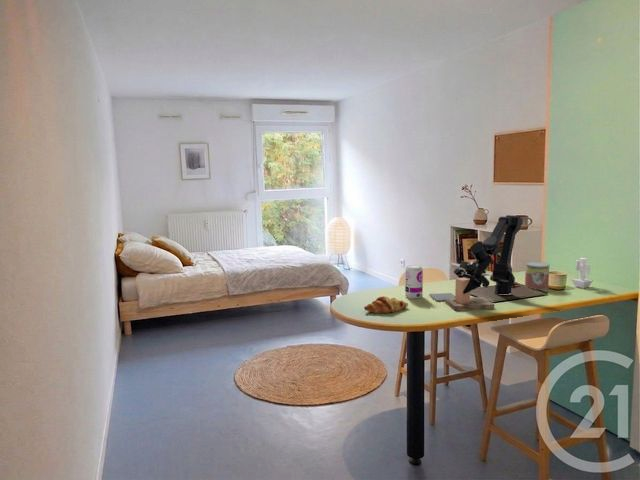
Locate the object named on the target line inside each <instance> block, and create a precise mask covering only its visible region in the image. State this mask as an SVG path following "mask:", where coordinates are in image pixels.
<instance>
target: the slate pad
mask: <svg viewBox="0 0 640 480" xmlns="http://www.w3.org/2000/svg"><path fill="white" fill-rule="evenodd" d="M428 295H429V297H430V298H431V299H432V300H434V301H435V302H445V299H451V298H455V294H454V293H452V292H444V293H429V294H428Z"/></svg>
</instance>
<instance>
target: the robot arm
mask: <svg viewBox="0 0 640 480" xmlns="http://www.w3.org/2000/svg"><path fill="white" fill-rule="evenodd" d="M523 222H524V220H523V218H522V216H520V215H510V214H509V215H506V216H500V217H498V221H497V223H496V225H495V227H494V228H493V230H492V232H491V234H490V236H489V237H487V238H485V239H484V240H483V241H481V240H480V241H479V240H478V241H476V242H475V243H473V244H472V245H471V246H470V248H469V250H470V251H469V252H470V253H471V254H472V255H473V257H474V259H475V261H470V262H469V261H465V260H460V264H459V267H458V268H455V269H454V271H453V273H454V274H455V275H456V277H457V278H467V279H470V281H469V283H468V285H467V286H466V288H465V289H464V291H463V293H464V294H465V293H467V292H470V293H471V291H473V290H476V289H478V288H479V289H480V288H482V287H484V288H488V287H489V286H490V280H489V279H488V278H487V277H486V276H485V275H483V274H486V273H487V271H486V270H487V269H488V267H489V266H490V264H491V265H493V268H492V269H493V270H492V273H491V275H492V274H493V280H492V281H493V282H495V285H494V287H495V288H494V292H495V294H496V293H497V294H496V295H498V294H509V293H511V294H512V287H511V284H513V283H514V281H515V280H516V277H515V275H514V274H513V268H512V265H511V260H512V254H513V249H514V246H515V245H514V244H515V239H516V234H517V233H518V232H519V231H520V230H521V229H522V228H521V227H522V225H523ZM503 236H504V237H503ZM502 238H503V241H502V247H501V246H500V242H501V240H502ZM500 248H501V252H500ZM499 252H500V257H499V260H498V262H494V257H491V256H497V254H498V253H499ZM515 282H516V281H515Z"/></svg>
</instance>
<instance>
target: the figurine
mask: <svg viewBox="0 0 640 480" xmlns="http://www.w3.org/2000/svg"><path fill="white" fill-rule="evenodd" d="M587 259H588V258H586V257H579V259H576V260H575V270H576V271H577V272H579V274H578V276H579V277H578V278H577V277H576V278H572V279H571V278H570V279H571V282H572V284H573V285H574V287H576V288H579V289H586V288H590V286H591V285H592V283H593V281H594V280H592V279H588V278H586V275H590V273H591V266H590V263H587V261H588V260H587Z"/></svg>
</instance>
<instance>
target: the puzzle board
mask: <svg viewBox="0 0 640 480" xmlns="http://www.w3.org/2000/svg"><path fill="white" fill-rule="evenodd" d="M444 304H446V305H447V306H448V307H450V308H451V310H453V311H472V310H473V311H477V310H495V303H493V302H491V301H490V300H488V299H487V298H485V297H483V296H476V297H470V304H457V303H456V302H455V298H451V299H445V301H444Z"/></svg>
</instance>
